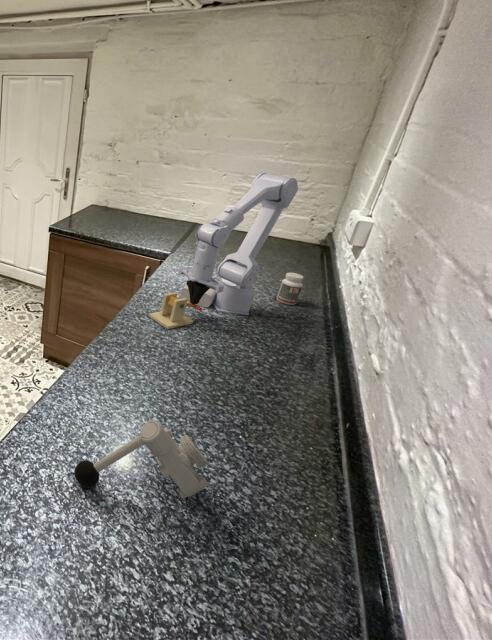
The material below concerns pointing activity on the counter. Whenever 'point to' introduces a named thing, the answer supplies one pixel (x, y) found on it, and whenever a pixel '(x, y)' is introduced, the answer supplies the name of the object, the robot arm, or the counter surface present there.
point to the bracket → (172, 312)
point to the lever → (171, 302)
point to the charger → (206, 298)
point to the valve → (169, 454)
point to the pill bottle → (290, 289)
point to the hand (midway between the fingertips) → (193, 303)
